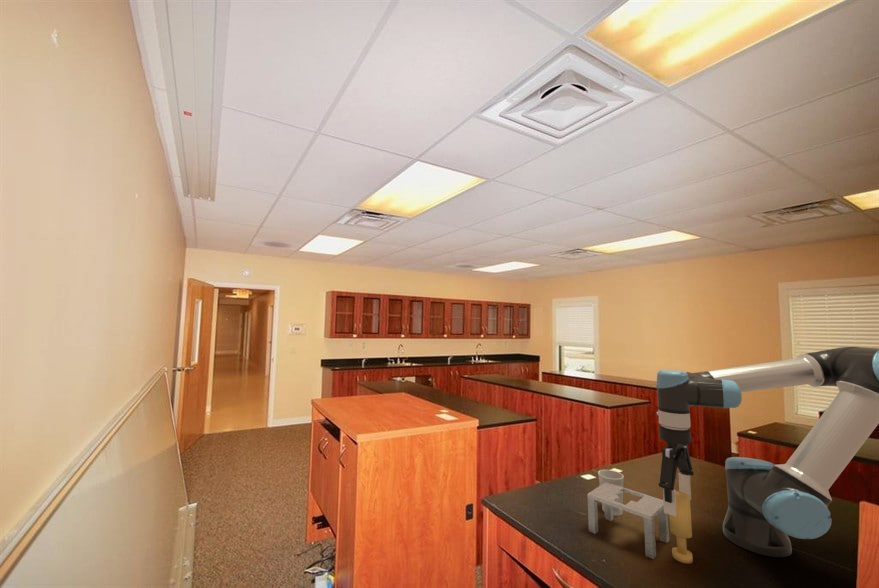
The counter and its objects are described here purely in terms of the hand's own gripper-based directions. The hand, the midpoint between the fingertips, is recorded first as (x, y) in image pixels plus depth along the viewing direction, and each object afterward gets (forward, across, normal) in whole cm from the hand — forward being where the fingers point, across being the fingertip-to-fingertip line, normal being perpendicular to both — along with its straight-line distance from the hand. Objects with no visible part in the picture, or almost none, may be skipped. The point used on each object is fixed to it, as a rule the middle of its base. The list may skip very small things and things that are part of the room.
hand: (678, 505), depth 99 cm
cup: (+14, -12, -23) cm, 29 cm away
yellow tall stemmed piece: (+14, 0, 0) cm, 14 cm away
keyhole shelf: (+14, 0, -14) cm, 19 cm away
